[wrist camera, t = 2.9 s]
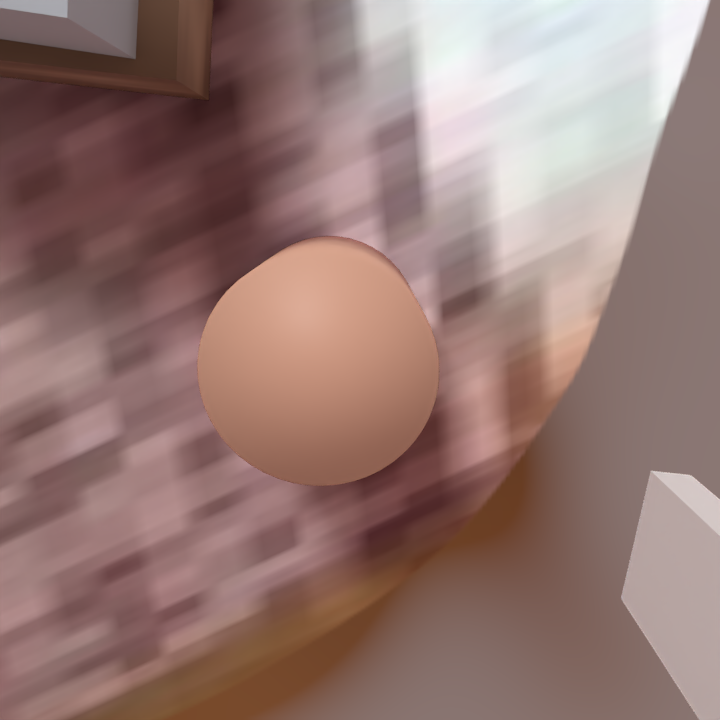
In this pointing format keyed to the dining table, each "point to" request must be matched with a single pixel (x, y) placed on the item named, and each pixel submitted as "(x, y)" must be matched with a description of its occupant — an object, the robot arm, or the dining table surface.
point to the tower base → (145, 73)
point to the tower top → (73, 24)
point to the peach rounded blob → (319, 363)
